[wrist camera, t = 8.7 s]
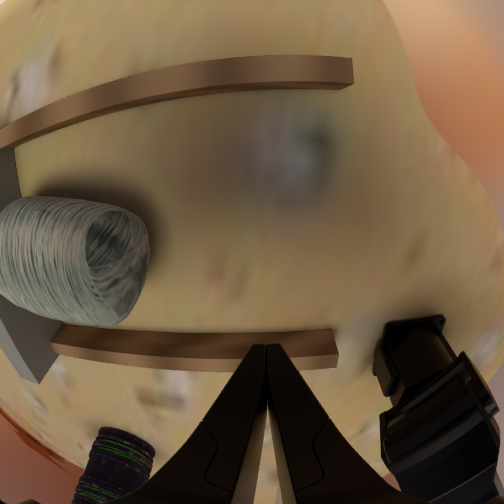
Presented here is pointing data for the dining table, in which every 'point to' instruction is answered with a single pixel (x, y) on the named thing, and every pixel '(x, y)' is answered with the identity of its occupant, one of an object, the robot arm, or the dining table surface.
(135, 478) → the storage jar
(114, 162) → the dining table surface
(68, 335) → the guide rails
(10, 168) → the end stop
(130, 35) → the dining table surface
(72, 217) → the spool
